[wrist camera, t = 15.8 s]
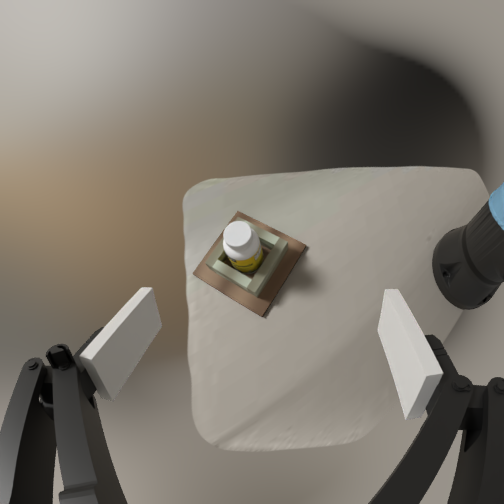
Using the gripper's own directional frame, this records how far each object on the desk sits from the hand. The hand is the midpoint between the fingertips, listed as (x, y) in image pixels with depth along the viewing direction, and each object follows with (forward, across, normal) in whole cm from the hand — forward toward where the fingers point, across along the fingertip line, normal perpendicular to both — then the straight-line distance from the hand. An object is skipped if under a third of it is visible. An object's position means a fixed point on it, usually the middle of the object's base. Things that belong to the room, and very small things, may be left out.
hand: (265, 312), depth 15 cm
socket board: (+31, -6, -10) cm, 34 cm away
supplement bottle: (+31, -6, -10) cm, 33 cm away
